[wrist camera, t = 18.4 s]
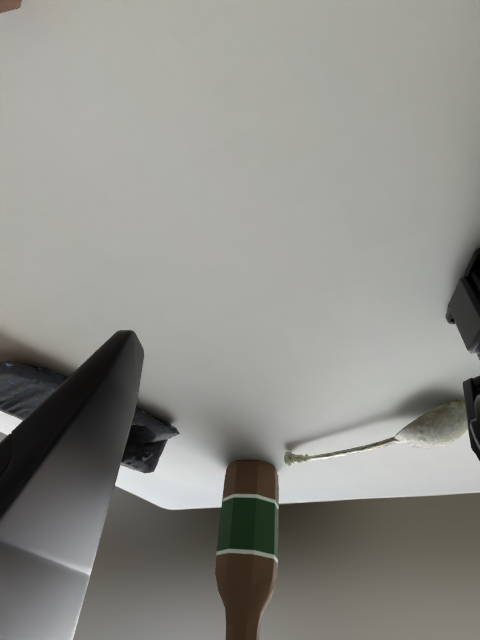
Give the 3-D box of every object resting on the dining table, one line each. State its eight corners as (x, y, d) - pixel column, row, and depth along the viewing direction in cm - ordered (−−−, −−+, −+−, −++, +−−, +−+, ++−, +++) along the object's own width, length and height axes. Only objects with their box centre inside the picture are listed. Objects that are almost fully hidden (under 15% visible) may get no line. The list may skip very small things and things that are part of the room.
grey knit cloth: (18, 333, 32) (-12, 378, 29) (191, 430, 44) (183, 469, 40) (-42, 383, 40) (-71, 422, 37) (118, 453, 51) (107, 488, 48)
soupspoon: (480, 414, 36) (458, 382, 33) (494, 445, 34) (471, 413, 31) (300, 462, 47) (270, 441, 44) (301, 488, 45) (270, 468, 42)
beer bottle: (289, 475, 52) (291, 721, 35) (245, 481, 55) (229, 707, 39) (260, 455, 47) (248, 725, 31) (215, 463, 51) (182, 709, 35)
